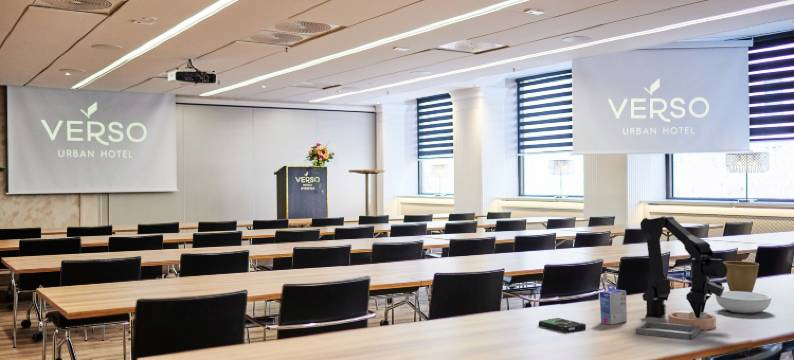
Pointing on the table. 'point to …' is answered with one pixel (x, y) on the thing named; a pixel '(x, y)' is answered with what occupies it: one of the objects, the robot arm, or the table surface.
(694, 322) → the bowl
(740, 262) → the plant pot
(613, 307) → the ink cartridge box
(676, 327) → the parts tray
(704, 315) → the pale grey cubic block
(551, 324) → the disk drive
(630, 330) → the table surface
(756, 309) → the serving bowl
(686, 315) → the white matte cube
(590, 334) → the table surface
